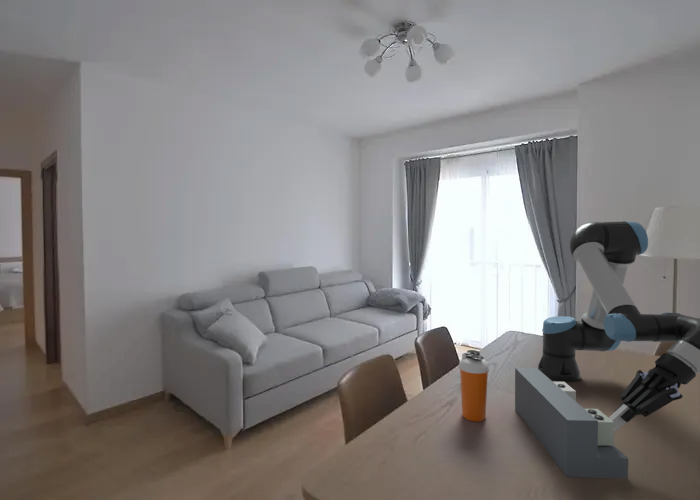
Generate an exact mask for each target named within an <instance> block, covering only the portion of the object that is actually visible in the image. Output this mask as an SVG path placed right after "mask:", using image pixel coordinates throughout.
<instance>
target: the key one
mask: <svg viewBox="0 0 700 500" xmlns="http://www.w3.org/2000/svg"><path fill="white" fill-rule="evenodd" d="M553 382H554V383H555V384H556V385H557V386H558V387H559V388H561V389H562V390H563V391H564V392H565V393H566V394H568V395H569V396H570V397H571V398H572V399H573V400H575V401H576V402H577V391H576V390H575V389H574V388H572V387H571V386H570V385H569V384H568V383H567V382H564V381H553Z"/></svg>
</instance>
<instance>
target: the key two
mask: <svg viewBox="0 0 700 500" xmlns="http://www.w3.org/2000/svg"><path fill="white" fill-rule="evenodd" d="M584 409H585V410H586V411H587V412H588V413H590V414H591V415H592V416H593V417H594V418H595V419H597V420H598V445H604V446H615V430H614V422H613V421H612V420H611V419H610V418H609V417H608V416H607V415H606V414H605V413H603V411H601V410H599V408H584Z"/></svg>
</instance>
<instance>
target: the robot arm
mask: <svg viewBox="0 0 700 500" xmlns="http://www.w3.org/2000/svg"><path fill="white" fill-rule="evenodd" d="M648 246H649V237H648V233H647V231H646V229H645V228H644V226H643V225H642V224H641V223H639V222H636V221H625V220H624V221H593V222H587V223H584V224H581V225H580V226H579V227H577V229H576V230H575V231H574V232H573V234H572V235H571V237H570V240H569V250H570V251H569V252H570V254H571V256H572V258H573V260H574V262H577V263H579V264H580V267H581V268H582V270H583V272H584V274H585V275H586V277H587V279H588V282H589V283H590V285H591V287H592V293H591V296H590V301H589V306H588V310H587V312H584V313H583V314H582V316H581V320H576V319H575V317H572V316H566V315H565V316H563V315H562V316H561V315H559V316H558V315H557V316H552V317H547V318H546V319H545V320H544V321H543V324H542V354H541V356H540V357H541V358H540V360H539V362H538V364H537V365H538V366H537V369H539V370H540V371H541V372H542V373H543V374H544V375H546V376H547V377H548V378H549V379H550V380H551V381H552V380H553V381H555V382H565V383H567V382H568V383H569V382H570V383H572V382H577V381H579V380H580V379H581V371H580V368H579V365H578V362H577V359H576V351H590V352H591V351H592V352H596V351H597V352H610V351H611V352H612V351H615V350H616V349H617V348H618V347H619V346H620V345H621V342H626V343H627V342H629V343H630V342H651V343H652V342H653V343H654V342H655V343H656V342H657V343H673V344H672V345H671V346H670V347H669V348H668V349H666V352H664V353H663V354H661V356H659V357H658V358H657V359H656V360H654V364H655V366H654V367H653V368H651V369H649V370H648V371H642V370H641V369H638V370H637V371H636V372H635V373H636V374H635V376H634V378H633V379H632V380H631V382H630V383H629V384H628V386H627V387H626V388H625V389H624V391H623V392H622V393H621V395H620V397H619V398H620V399H621V401H622V404H620V405H619V407H617V408H616V409H615V410H614V412H613V413H612V414H611V415H610V416H609V417H608V418H610V419H611V420H612V421H613V422H614V432H617V431H618V430H620V429H621V428H622V427H623V426H624V425H625V424H626V423H629V422H630V421H631V420H632V419H634V418H635V417H636V416H639V415H641V416H643V417H646V418H647V417H649V416H651V415H652V414H654V413H655V412H657V411H658V410H660V409H662V408H664V407H665V406H667V405H668V404H670V403H672V402H674V401H677V400H680V399H681V400H682V398H683V397H684V395H682V393H680V391H679V388H680V387H681V385H688V384H689V383H690V382H691V381H692V380H694V379H695V377H696V376H697V374H700V317H699V318H698V317H694V316H689V315H684V314H681V313H678V312H663V313H660V314H659V313H658V314H655V313H654V314H653V313H652V314H651V313H650V314H649V313H648V314H647V313H642V312H640V311H639V309H638V307H637V306H636V304H635V302H634V301H633V299H632V298H631V296H630V295H629V293H628V291H627V289H626V288H625V286H624V282H625V278H626V274H627V270H628V266H629V265H632V264H633V263H635V261H636V258H637V256H640V255H643V254H644V253H646V252H647V250H648Z"/></svg>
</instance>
